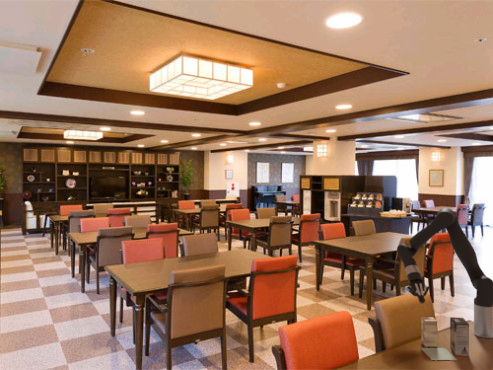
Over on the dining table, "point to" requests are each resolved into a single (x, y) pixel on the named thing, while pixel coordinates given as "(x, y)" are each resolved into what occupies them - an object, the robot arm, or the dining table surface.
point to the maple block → (429, 332)
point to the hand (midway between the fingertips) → (422, 302)
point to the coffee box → (459, 336)
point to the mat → (438, 354)
